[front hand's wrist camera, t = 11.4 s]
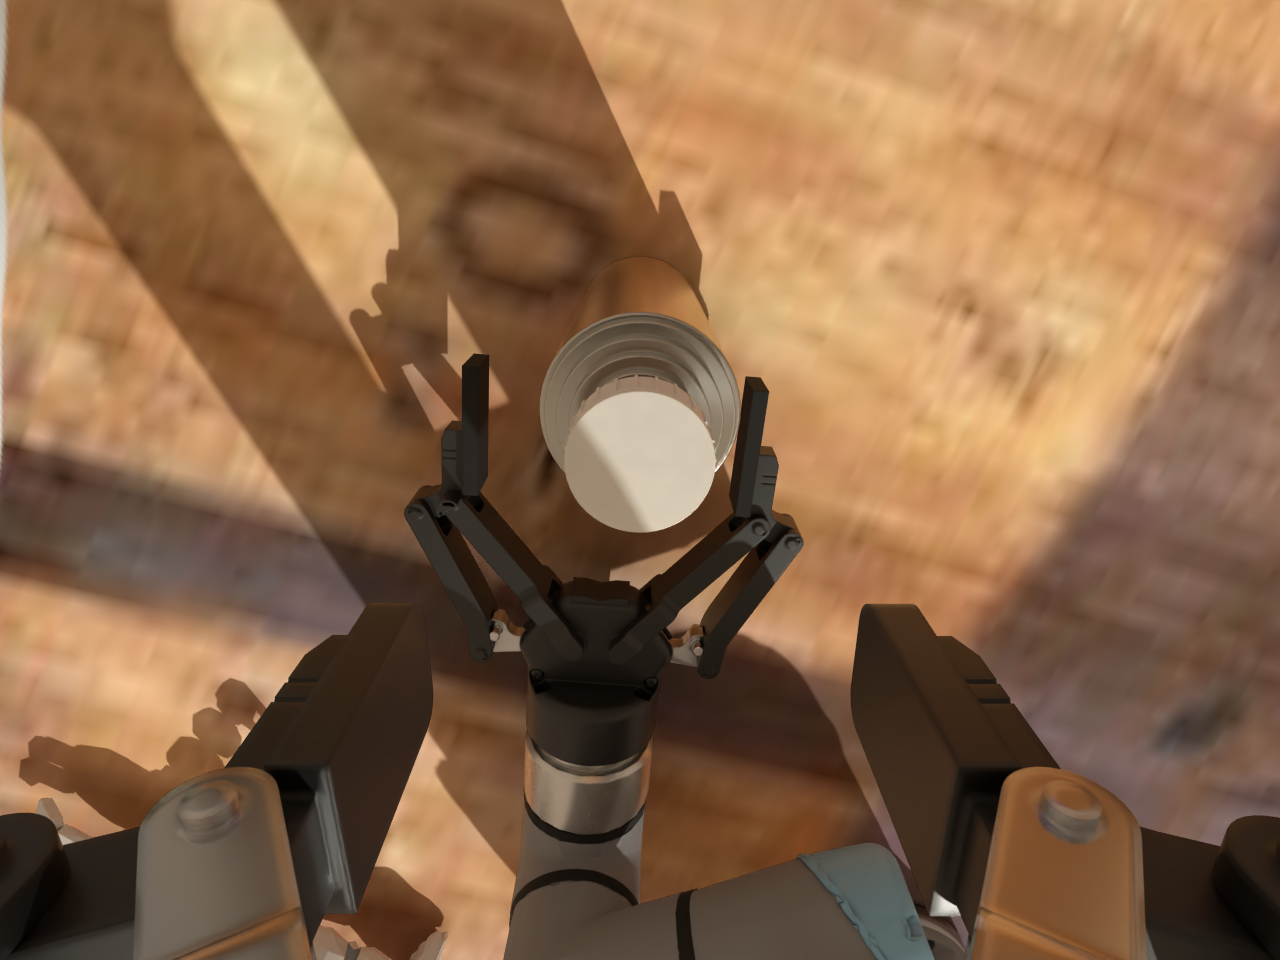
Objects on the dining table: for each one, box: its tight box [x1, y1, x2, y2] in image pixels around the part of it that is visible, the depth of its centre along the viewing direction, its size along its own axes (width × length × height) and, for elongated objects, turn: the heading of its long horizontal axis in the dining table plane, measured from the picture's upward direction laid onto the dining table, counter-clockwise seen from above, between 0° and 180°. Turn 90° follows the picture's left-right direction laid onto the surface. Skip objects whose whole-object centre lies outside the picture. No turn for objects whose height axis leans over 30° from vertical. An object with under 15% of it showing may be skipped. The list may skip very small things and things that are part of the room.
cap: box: [564, 375, 717, 533], centre depth 20 cm, size 4×4×2 cm
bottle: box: [539, 257, 741, 474], centre depth 31 cm, size 6×6×23 cm
